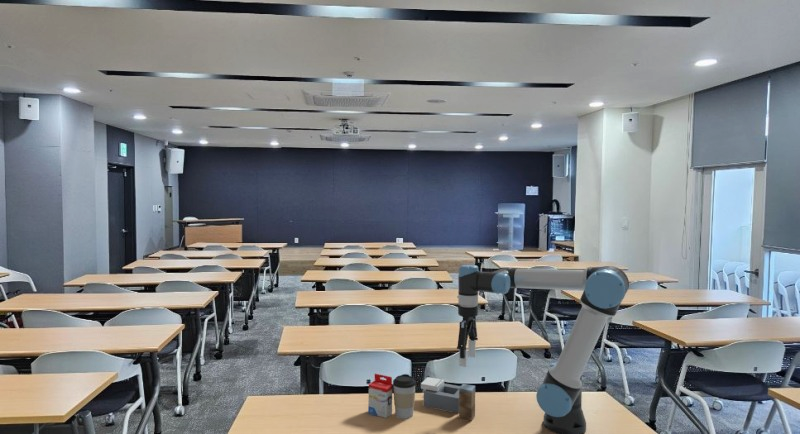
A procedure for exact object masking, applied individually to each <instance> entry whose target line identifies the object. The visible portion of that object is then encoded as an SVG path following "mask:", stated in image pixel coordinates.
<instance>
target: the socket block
mask: <svg viewBox="0 0 800 434" xmlns="http://www.w3.org/2000/svg"><path fill="white" fill-rule="evenodd" d="M461 386H462V385H456V384H449V383H445V382H444V385H443V386H442V387H441V388H440V389H439V391H438V392H437V391H432V390H427V389H424V391H423V407H425V408H431V409H436V410H440V411H444V410H445V412H449V411H450V413H454V412H455V413H454V414H459V388H460V387H461Z"/></svg>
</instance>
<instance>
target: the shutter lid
mask: <svg viewBox="0 0 800 434" xmlns="http://www.w3.org/2000/svg"><path fill="white" fill-rule="evenodd" d="M444 383H445V379H442V378H441V379H440V378H434V377H430V376H429V377H428V376H427V377H426V378H425V379H424V380H423V381H422V382H421V383H420V389H422V390H426V389H427V390H432V391H437V392H438V391H439V389H440V388H441V387H442V386H443V385H444Z"/></svg>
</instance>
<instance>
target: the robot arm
mask: <svg viewBox="0 0 800 434" xmlns="http://www.w3.org/2000/svg"><path fill="white" fill-rule="evenodd" d="M457 279H458V285H457V286H458V295H457V296H456V297H457V299H458V301H457V302H458V307H457V309H458V310H457V314H458V316H460V317H462V320H461V321H459V329H458V337H457V338H458V339H457V346H456V349H457V350H459V351H458V353H459V354H458V357H459V358H458V360H459V361H458V365H459V367H463V368H464V367H465V368H467V367H468V366H467V365H468V364H467V363H468V358H469V357H470V358H476V346H477V345H476V341H478V339H479V338H478V330H477V320H476V317H477V316H479V314H478V313H479V306H478V305H479V292H484V293H494V294H496V295H500V294H503V295H505V294H507V293H509V291H510V289H532V290H533V289H535V290H536V289H537V290H557V291H559V290H561V291H578V292H579V291H580V292H581V291H582V294H581V296H580V298H579V301H580V304H581V308H580V309H579V313H578V315H577V318H576V319H575V321H574V323H573V325H572V327H571V330H570V332H569V334H568V336H567V339H566V341H565V344H564V345H563V349H562V350H561V353H560V355H559V357H558V358H557V361H556V362H551V363H549V365H548V369H547V372H546V375H545V376H544V379H543V381H542V383H541V385H539V386H538V388H537V391H536V396H535V397H536V398H535V399H536V402H537V405H538V407H539V408H540V409H541V410H542V411H543V412H544V414H543V425H544V426H545V428H547V429H548V430H550V431H552V432H553V433H557V434H584V433H586V431H587V421H586V418H585V414H584V411H583V408H582V401H583V400H582V398H583V395H582V391H583V389H582V388H583V383H582V382H583V373H584V371H585V369H586V366H587V364H588V362H589V361H590V360H589V359H590V357H591V356H592V353H593V351H594V349H595V346H596V345H597V343H598V340H599V339H600V336H601V335H602V332H603V329H604V328H605V325H606V324H607V321H608V319H609V318H612V317H615V316H616V315H617V313H618V310H619V308H620V306H621V304H622V301H623V299H624V298H625V296H626V294H627V293H628V291H629V287H630V281H629V278H628V275H627V274H626V273H625V271H623V270H622V269H621V268H619V267H616V266H613V265H605V266H587V267H586V268H584V269H561V268H560V269H556V268H555V269H548V268H511V267H501V268H499V269H497V270H495V271H490V272H489V271H480V270H479V266H478V265H475V264H463V265H460V266H459V267H458V276H457ZM467 344H468V347H467ZM467 348H468V349H467ZM467 355H468V356H467Z"/></svg>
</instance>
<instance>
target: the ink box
mask: <svg viewBox="0 0 800 434" xmlns="http://www.w3.org/2000/svg"><path fill="white" fill-rule="evenodd" d="M382 378H383V379H382ZM393 387H394V386H393V377H392V376H388V375H384V374H380V373H374V380H373V381H372V382H370V383H369V384H368V411H367V413H368V414H370V415H373V416H377V417H381V418H384V419H387V418H389V417H390V416H391V414H392V413H393Z"/></svg>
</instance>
